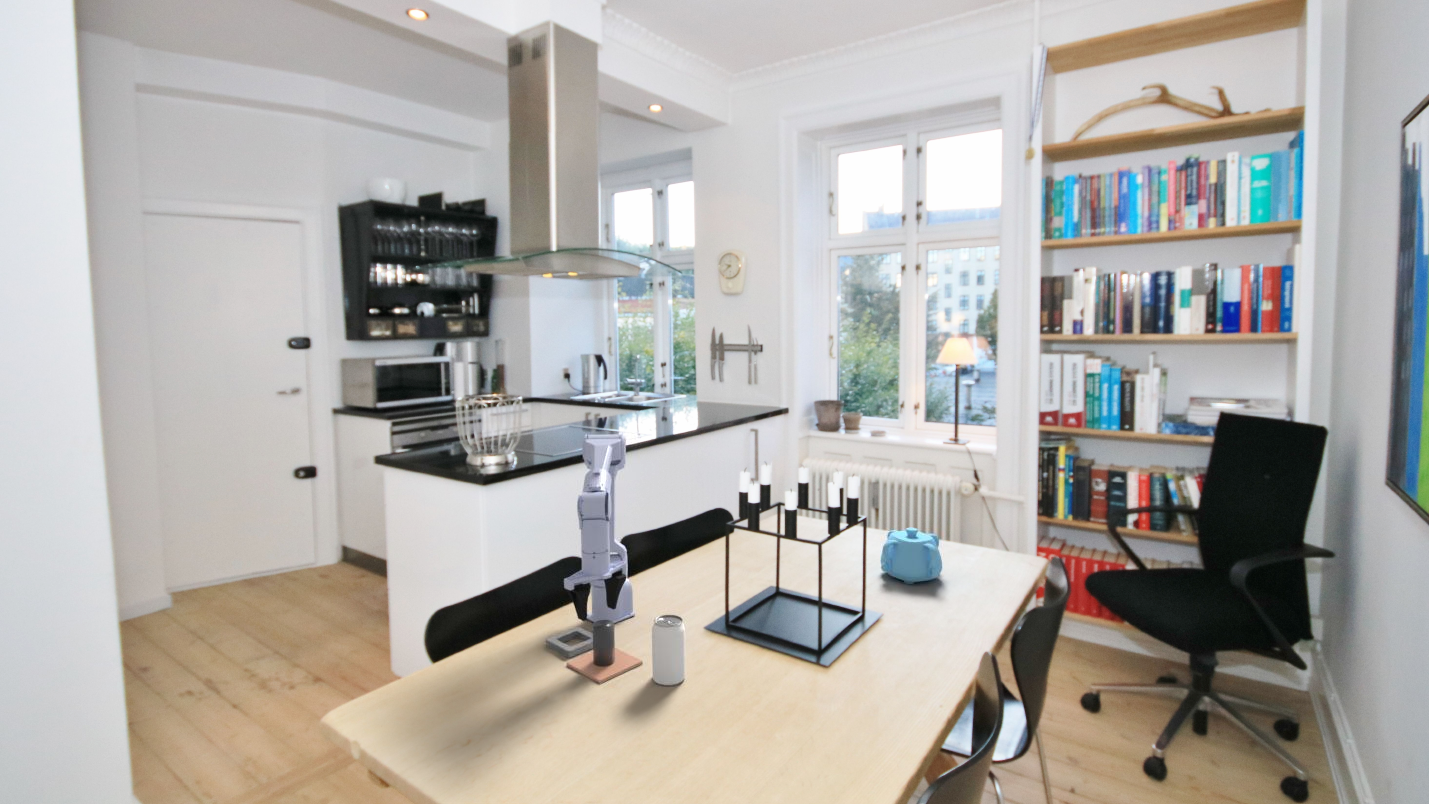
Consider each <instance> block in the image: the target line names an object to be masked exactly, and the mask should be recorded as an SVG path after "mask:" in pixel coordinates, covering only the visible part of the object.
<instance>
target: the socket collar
mask: <svg viewBox="0 0 1429 804" xmlns="http://www.w3.org/2000/svg"><path fill="white" fill-rule="evenodd" d="M575 638H578V639H579V640H581V641H582V642H579V643H577V644H574V645H572V646H570V645H568V644H566V643H565V642H568V641H571V640H574V639H575ZM545 647H548V648H549V649H551V650H552V651H555V652H557V653H559V654H561V655H563V656H564V657H566V658H568V659H571V658H574V657H575V656H576V657H577V656H579V655H580V654H583V653H585V652H588V651H591V650H593V632H590V631H588V630H586V629H584V628H581V627H580V626H577V627H575V628H571V629H568V630H566V631H563V632H561V633H558V634H555V635H552V636H551V637H550V636H549V637H548V638H546V639H545Z"/></svg>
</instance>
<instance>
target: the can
mask: <svg viewBox="0 0 1429 804" xmlns="http://www.w3.org/2000/svg"><path fill="white" fill-rule="evenodd" d="M683 621H684V620H683V618H682V617H681V616H679V615H675V614H663V615H659V616H658V617H657V616H656V618H654V620H653V625H652V628H651V646H652V647H651V648H652V649H651V650H652V653H651V654H652V658H651V661H652V664H651V665H652V679H653V681H654V682H655V684H657V685H659V686H665V687H672V686H676V685H677V686H678V685H680V684H681V683H682V682H684V680H685V678H686V630H685V629H686V628H685V627H686V626H685V625H684V623H683Z"/></svg>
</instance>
